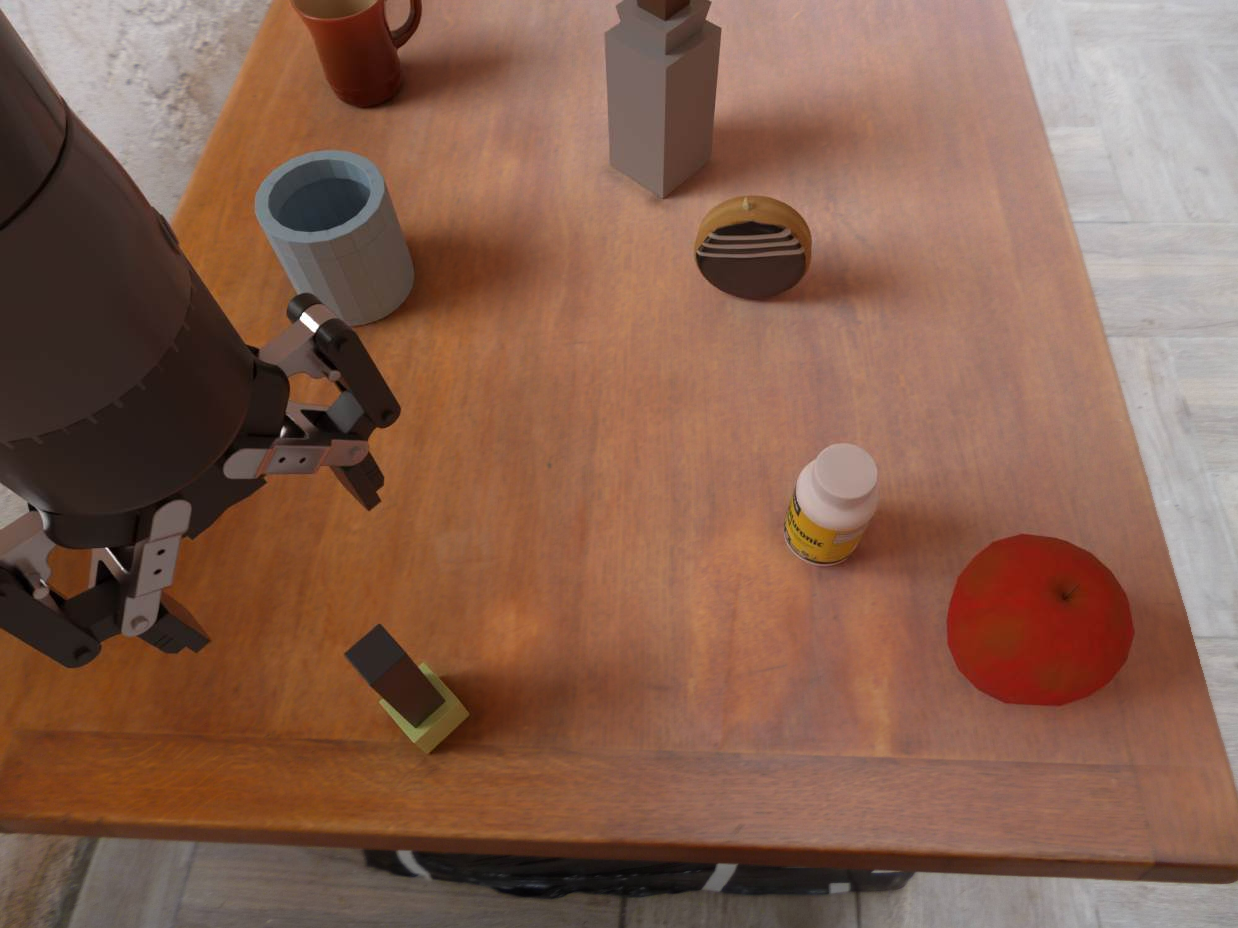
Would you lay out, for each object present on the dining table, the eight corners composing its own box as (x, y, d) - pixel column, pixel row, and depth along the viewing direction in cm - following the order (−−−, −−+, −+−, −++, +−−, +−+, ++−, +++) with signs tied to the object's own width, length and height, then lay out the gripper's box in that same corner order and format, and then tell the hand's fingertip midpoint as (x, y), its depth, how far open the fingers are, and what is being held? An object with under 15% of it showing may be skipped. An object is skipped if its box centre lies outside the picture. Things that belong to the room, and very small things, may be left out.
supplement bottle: (768, 516, 62) (788, 448, 54) (834, 490, 63) (863, 420, 55) (803, 580, 60) (830, 520, 51) (871, 552, 61) (908, 489, 52)
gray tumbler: (344, 346, 71) (303, 263, 62) (277, 283, 75) (229, 196, 66) (437, 280, 74) (410, 192, 66) (369, 222, 78) (334, 132, 69)
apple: (921, 571, 60) (976, 496, 50) (1068, 583, 59) (1154, 510, 49) (932, 716, 55) (996, 665, 45) (1092, 731, 54) (1194, 683, 44)
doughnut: (689, 296, 73) (695, 209, 64) (695, 264, 75) (702, 175, 66) (799, 311, 72) (821, 224, 63) (803, 278, 74) (825, 189, 65)
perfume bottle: (710, 161, 81) (726, -27, 65) (662, 199, 79) (667, 13, 63) (657, 129, 83) (661, -60, 68) (610, 165, 81) (602, -22, 65)
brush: (427, 754, 55) (367, 703, 43) (393, 714, 56) (326, 654, 44) (470, 714, 56) (423, 653, 44) (435, 676, 57) (381, 606, 45)
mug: (347, 128, 84) (312, 32, 76) (312, 82, 88) (275, -16, 79) (454, 83, 88) (432, -15, 79) (416, 40, 91) (391, -59, 82)
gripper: (199, 104, 25) (363, 405, 39) (-309, 396, 21) (83, 619, 35) (350, 230, 22) (468, 505, 37) (-198, 600, 18) (180, 752, 32)
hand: (280, 560), depth 36 cm, fingers open, 8 cm apart
